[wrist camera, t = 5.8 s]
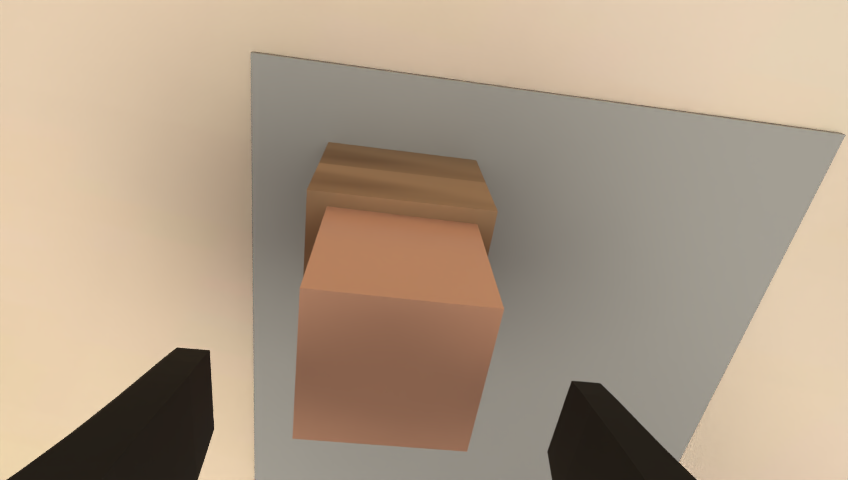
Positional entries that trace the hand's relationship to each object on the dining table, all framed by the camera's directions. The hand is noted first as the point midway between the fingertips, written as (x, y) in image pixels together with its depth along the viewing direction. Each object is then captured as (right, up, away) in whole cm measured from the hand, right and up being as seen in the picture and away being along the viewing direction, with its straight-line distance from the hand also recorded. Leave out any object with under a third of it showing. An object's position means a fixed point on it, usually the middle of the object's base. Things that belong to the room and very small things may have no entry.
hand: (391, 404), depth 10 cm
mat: (+4, -1, +11) cm, 12 cm away
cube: (0, +2, +4) cm, 5 cm away
